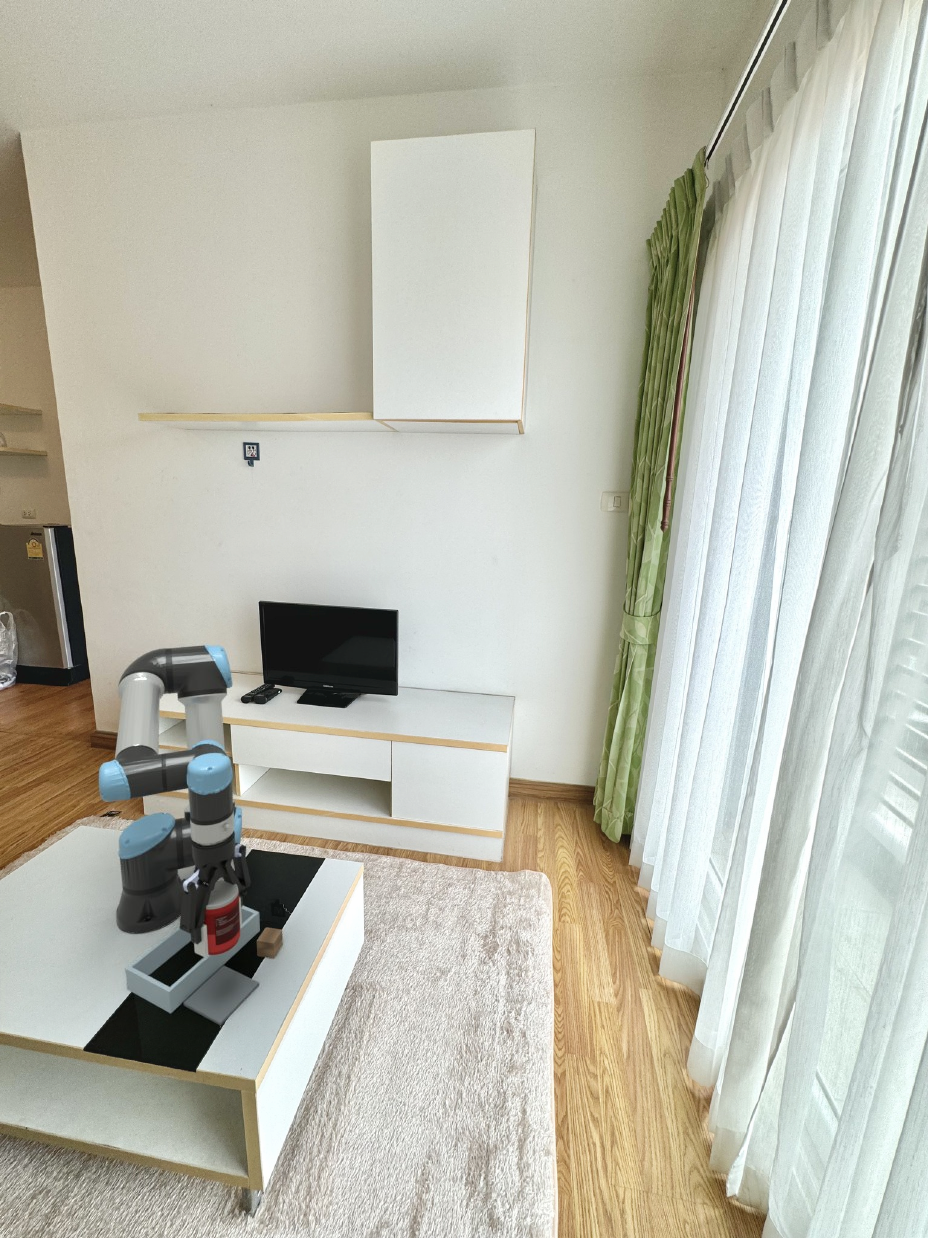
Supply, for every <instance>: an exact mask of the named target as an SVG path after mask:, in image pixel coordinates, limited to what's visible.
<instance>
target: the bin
mask: <svg viewBox="0 0 928 1238" xmlns="http://www.w3.org/2000/svg"><path fill="white" fill-rule="evenodd" d="M241 916H242V926H240V937H239V940H238V942H237V944H236V945H235V946H234V947H233V948H232V949H230V950H229V951H227V952H225V953H222V954H218V955H207V956H206V957H203V958H201V959H200V960H199V961H198V962H197V963H196V964H194V966H192V967H191V968H190V969H189V970H188V971H187V972H185V973H184V974H183V975H182V976H181V977H180V978H179V979H177V981H175V982H174V983H173V984H171V986H169V985H166V984H164V983H163V982H161V981H159V980H157V979H155V978H153V977H152V976H150V975H151V974H152V973H153V972H154V971H156V970H157V969H159V967H161V966H163V964H164V963H166V962H167V961H168V960H169V959H170V958H172V957H173V956H174V955H176V954H177V953H178V952H179V951H180V950H181V949H182V948H184V947H185V946H186V945H188V944H189V943H190V942H192V941H191V934H190V933H187V932H185V931H183V930H181V929H180V925H179V926H178V927H176V928H175V929H174V930H173V931H171V932H170V933H169V934H167V935H166V936H165V937H164V938H163V939H162V940H160V941H159V942H157V943H156V944H155V945H154V946H152V947H151V948H150V949H149V950H147V951H145V953H144V954H142V955H140V956H139V957H138V958H137V959H135V960H134V961H133V962H132V963H130V964H129V965H128V966H126V968H124V969H125V979H126V989H127V990H128V991H130V992H131V993H133V994H134V995H137V996H138V997H140V998H142V999H144V1000H146V1001H147V1002H149V1003H150V1004H152V1005H155V1006H156V1007H158V1008H160V1009H162V1010H163V1011H165V1012H167V1013H168V1014H172V1013H173V1012H174V1011H175V1010H176V1009H177V1008H179V1006H181V1005H182V1003H184V1002H185V1001H186V1000H187V999H188V998H189V997H190V996H191V995H192V994H193V993H194V992H196V991H197V990H198V989H199V988H200V987H201V986H202V985H203V984H204V983H205V982H206V981H207V980H208V979H210V978H211V977H212V976H213V975H214V974H215V973H216V972H217V971H218V970H219V969H220V968H221V967H222V966H223V965H224V966H225V964H226V963H227V962H228V961H229V960H230V959H231V958H232V957H233V956H235V955H236V954H237V953H238V952H239V951H240V950H241V949H242V948H243V947H244V946H246V944H247V943H248V942H249V941H251V939H253V937H255V936H256V935H257V934H258V933H260V931H261V929H260V926H261V925H260V912H259V911H257V910H256V909H255V910H254V909H253V908H250V907H247V906H245V905H243V906H242V908H241Z"/></svg>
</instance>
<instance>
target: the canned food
mask: <svg viewBox="0 0 928 1238" xmlns="http://www.w3.org/2000/svg"><path fill="white" fill-rule="evenodd" d="M203 924H205V925H207V940H208V955H218V954H222V953H225V952H227V951H229V950H230V949H232V948H233V947H234V946H235V945H236V944H237V942H238V940H239V937H240V910H239V891H238V886H237V885H236V884H234V885H233V884H230V883H228V882H225V880H224V879H219V880H218V881H217V882H216V883H215V887H214V890H213V891H211V894H210V898H209V902H208V905H207V906H206V914H205V918H204V922H203Z"/></svg>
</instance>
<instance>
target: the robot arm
mask: <svg viewBox="0 0 928 1238" xmlns="http://www.w3.org/2000/svg"><path fill="white" fill-rule="evenodd" d="M232 687H233V678H232V671H231V666H230V662H229V659H228V654H227V651H226V649H225V648H224V647H223V646H222V645H216V644H215V645H213V644H212V645H208V644H207V645H206V644H204V645H194V646H193V645H191V646H183V647H182V646H181V647H180V646H179V647H169V648H165V647H164V648H156V649H154V650H150V651H149V652H146V653H144V654H142V655H141V656H139V657H137V658H136V659H134V660H133V662H131V663H130V664H128V666H127V668H126V669H125V670H124V671H123V672H122V674H121V676H120V679H119V681H118V686H117V694H118V697H119V699H120V700H121V703H120V713H119V721H118V729H117V739H116V747H115V754H114V759H112V760H111V761H107V762H103V763H101V766H100V767H99V771H98V787H99V796H100V798H101V800H102V801H103V802H105V803H106V802H107V803H108V802H109V803H110V802H118V801H130V800H133V799H138V798H139V799H140V798H143V797H148V796H153V795H159V794H164V793H170V792H171V793H172V792H175V791H182V790H188V804H187V806H186V807H185V808H184V809H183V810H184V811H183V813H184V814H183V815H184V817H181V818H175V817H174V815H172V814H171V813H170V812H156V813H151V814H148V815H144V816H142V817H140V818H138V819H137V820H135V821H132V822H131V823H130V824H129V825H127V827H125V828H124V829H123V830H122V832H121V834H120V835H119V838H118V852H117V854H118V857H119V863H120V864H119V865H120V873H121V885H122V891H121V894H120V895H121V896H120V898H119V902H118V905H117V908H116V911H115V915H116V916H115V917H116V925H117V927H118V928H119V929H120V930H121V931H123V932H125V933H130V934H144V933H149V932H152V931H157V930H159V929H162V928H164V927H166V926H168V925H170V924H171V923H173V922H175V920H177V919H178V918H179V917H180V919H179V926H180V929H181V930H183V931H185V932H187V933H190V934H191V941H190V942H191V943H193V944H194V945H193V946H194V953H195V954H196V955H199V956H201V957H203V958H204V957H206V956H207V955H208V940H207V925H205V924H203V922H204V918H205V914H206V906H207V905H208V902H209V898H210V894H211V891H213V890H214V887H215V883H216V882H217V881H219V880H221V878H222V880H225V882H228V883H230V884H233V885H234V884H236V885H237V886H238V891H239V910H240V926H242V916H241V908H242V906H244V897H245V896H246V895H247V894H248V891H247V890H245V889H246V888H249V887H250V886H251V883H252V882H251V877H250V872H249V868H248V867H249V866H248V862H247V857H246V854H247V845H244V844H241V842H242V841H241V840H242V829H243V819H242V818H243V817H242V816H243V810H242V807H241V806H238V805H237V806H236V800H235V799H234V793H233V792H234V790H233V778H234V776H233V775H234V774H233V773H234V772H233V768H232V767H233V766H232V761H231V758H230V757H229V756H228V754H227V752H226V748H225V736H224V735H225V734H224V733H225V732H224V720H223V707H222V703H223V700H224V699H225V698H226V697H227V696H228V689H230V688H232ZM168 694H169V695H170V694H177V701H178V702H179V703H181V705H183V706H184V715H185V716H184V717H185V728H186V730H185V732H186V744H187V745H186V750H180V751H179V750H178V751H172V752H166V753H159V752H160V751H159V747H160V746H159V745H160V744H159V743H160V741H159V740H160V739H159V738H160V700H161V699H162V697H163V696H164V695H168ZM232 863H233V864H232ZM194 866H195V867H194ZM189 867H190V868H191V867H194V870H193V874H192V875H191V876H190V877H188V878H187V879H186V878H181V877H180V875H179V870H182V869H186V868H189ZM233 867H234V868H233Z"/></svg>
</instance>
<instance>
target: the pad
mask: <svg viewBox="0 0 928 1238" xmlns="http://www.w3.org/2000/svg"><path fill="white" fill-rule="evenodd" d="M258 987H260V982H259V981H256V980H254V979H252V978H250V977H248V976H247V975H244V974H242V973H241V972H239V971H236V970H234V969H232V968H230V967H227V966H226V965H225V964H224V965H222V966H221V967H220V968H219V969H218V970H217V971H216V972H215V973H214V974H213V975H212V976H211V977H210V978H208V979H207V980H206V981H205V982H204V983H203V984H202V985H201V986H200V987H199V988H198V989H197V990H196V991H194V992H193V993H192V994H191V995H190V996H189V997H188V998H187V999H186V1000H185V1001H184V1002H183V1006H184V1007H186V1008H188V1009H189V1010H191V1011H192V1012H195V1013H196V1014H199V1015H201V1016H203V1017H204V1018H206V1019H208V1020H210V1021H212V1022H213V1023H215V1024H217V1025H219V1026H222V1025H223V1024H224V1023H225V1022H226V1021H227V1020H228V1019H229V1018H230V1017H231V1015H232V1014H233V1013H235V1011H236V1010H237V1009H238V1008H240V1006H242V1004H243V1003H244V1002H245V1001H246V1000H247V999H248V998H249V997H250V996H251V995H252V994H253V992H254V991H255V990H256V989H257V988H258Z"/></svg>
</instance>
